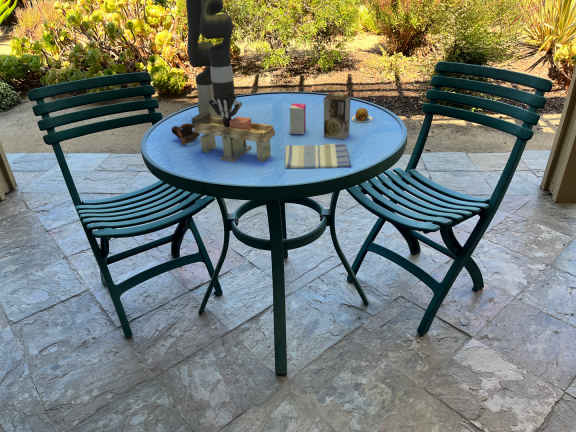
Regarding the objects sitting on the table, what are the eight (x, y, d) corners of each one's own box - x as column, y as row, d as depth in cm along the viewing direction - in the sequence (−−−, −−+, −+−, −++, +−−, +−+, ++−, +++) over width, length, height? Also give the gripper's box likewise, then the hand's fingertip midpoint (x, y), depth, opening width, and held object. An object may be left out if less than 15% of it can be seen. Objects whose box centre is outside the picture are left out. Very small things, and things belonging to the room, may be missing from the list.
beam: (193, 131, 156) (191, 118, 153) (205, 124, 162) (203, 111, 159) (265, 143, 145) (264, 128, 142) (275, 134, 151) (274, 120, 148)
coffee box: (349, 134, 170) (351, 94, 161) (344, 140, 165) (346, 99, 156) (328, 131, 173) (329, 92, 165) (323, 137, 168) (323, 97, 160)
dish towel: (285, 150, 161) (285, 143, 159) (347, 148, 159) (347, 142, 158) (283, 170, 146) (283, 163, 145) (351, 169, 145) (351, 162, 143)
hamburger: (381, 121, 182) (382, 109, 179) (359, 127, 177) (360, 115, 174) (363, 114, 191) (364, 102, 188) (342, 119, 186) (342, 107, 183)
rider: (230, 131, 151) (229, 121, 149) (237, 126, 155) (236, 116, 152) (245, 133, 149) (244, 123, 147) (251, 128, 152) (251, 118, 150)
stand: (197, 155, 158) (192, 130, 153) (215, 142, 168) (212, 118, 162) (259, 166, 148) (256, 140, 143) (274, 151, 158) (273, 126, 153)
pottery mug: (203, 137, 175) (202, 124, 167) (195, 154, 170) (194, 142, 163) (176, 129, 175) (173, 116, 168) (167, 146, 171) (164, 133, 163)
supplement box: (304, 135, 171) (303, 108, 164) (289, 135, 172) (288, 107, 165) (306, 130, 175) (305, 103, 169) (292, 129, 176) (291, 103, 170)
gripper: (200, 79, 143) (207, 128, 153) (233, 83, 138) (238, 132, 148) (212, 74, 149) (218, 121, 158) (244, 77, 144) (248, 125, 154)
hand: (228, 126), depth 153 cm, fingers closed
